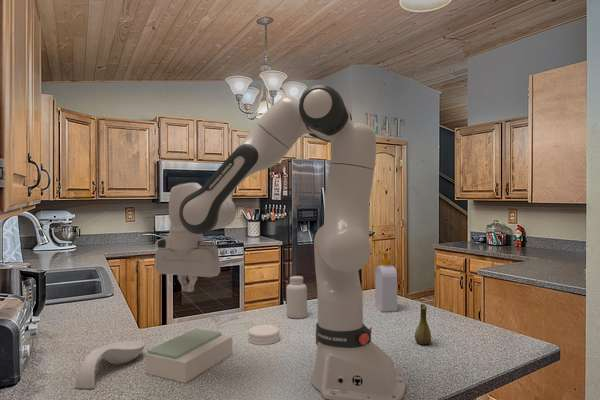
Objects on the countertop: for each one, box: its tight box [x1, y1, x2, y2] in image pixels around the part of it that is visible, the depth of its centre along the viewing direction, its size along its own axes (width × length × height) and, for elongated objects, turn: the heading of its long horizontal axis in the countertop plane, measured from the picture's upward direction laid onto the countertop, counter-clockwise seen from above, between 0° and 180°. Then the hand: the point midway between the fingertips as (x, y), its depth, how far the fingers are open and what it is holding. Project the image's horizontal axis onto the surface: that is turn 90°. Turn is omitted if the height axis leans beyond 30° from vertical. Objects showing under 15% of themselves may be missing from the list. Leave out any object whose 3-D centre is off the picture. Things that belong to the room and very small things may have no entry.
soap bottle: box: [374, 252, 398, 313], centre depth 160 cm, size 9×7×23 cm
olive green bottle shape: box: [414, 303, 432, 345], centre depth 122 cm, size 6×5×12 cm
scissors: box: [207, 314, 239, 332], centre depth 142 cm, size 11×1×20 cm
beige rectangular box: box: [145, 334, 233, 384], centre depth 108 cm, size 13×20×5 cm, turn 155°
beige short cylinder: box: [247, 324, 281, 346], centre depth 126 cm, size 10×10×4 cm
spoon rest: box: [74, 340, 146, 390], centre depth 105 cm, size 24×12×7 cm, turn 177°
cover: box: [147, 328, 222, 360], centre depth 109 cm, size 10×19×1 cm, turn 155°
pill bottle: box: [285, 275, 308, 320], centre depth 151 cm, size 8×8×15 cm
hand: (188, 291), depth 108 cm, fingers closed
